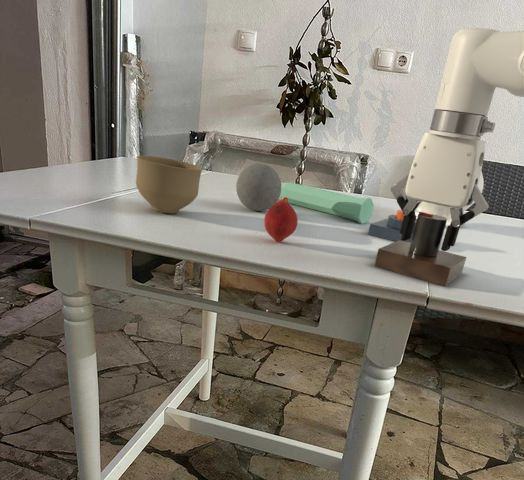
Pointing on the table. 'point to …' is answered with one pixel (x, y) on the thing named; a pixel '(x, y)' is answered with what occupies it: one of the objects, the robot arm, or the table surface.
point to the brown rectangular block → (420, 263)
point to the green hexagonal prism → (328, 201)
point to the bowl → (167, 183)
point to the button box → (388, 229)
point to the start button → (399, 215)
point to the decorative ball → (258, 187)
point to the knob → (427, 234)
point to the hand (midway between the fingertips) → (425, 243)
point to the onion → (280, 220)
